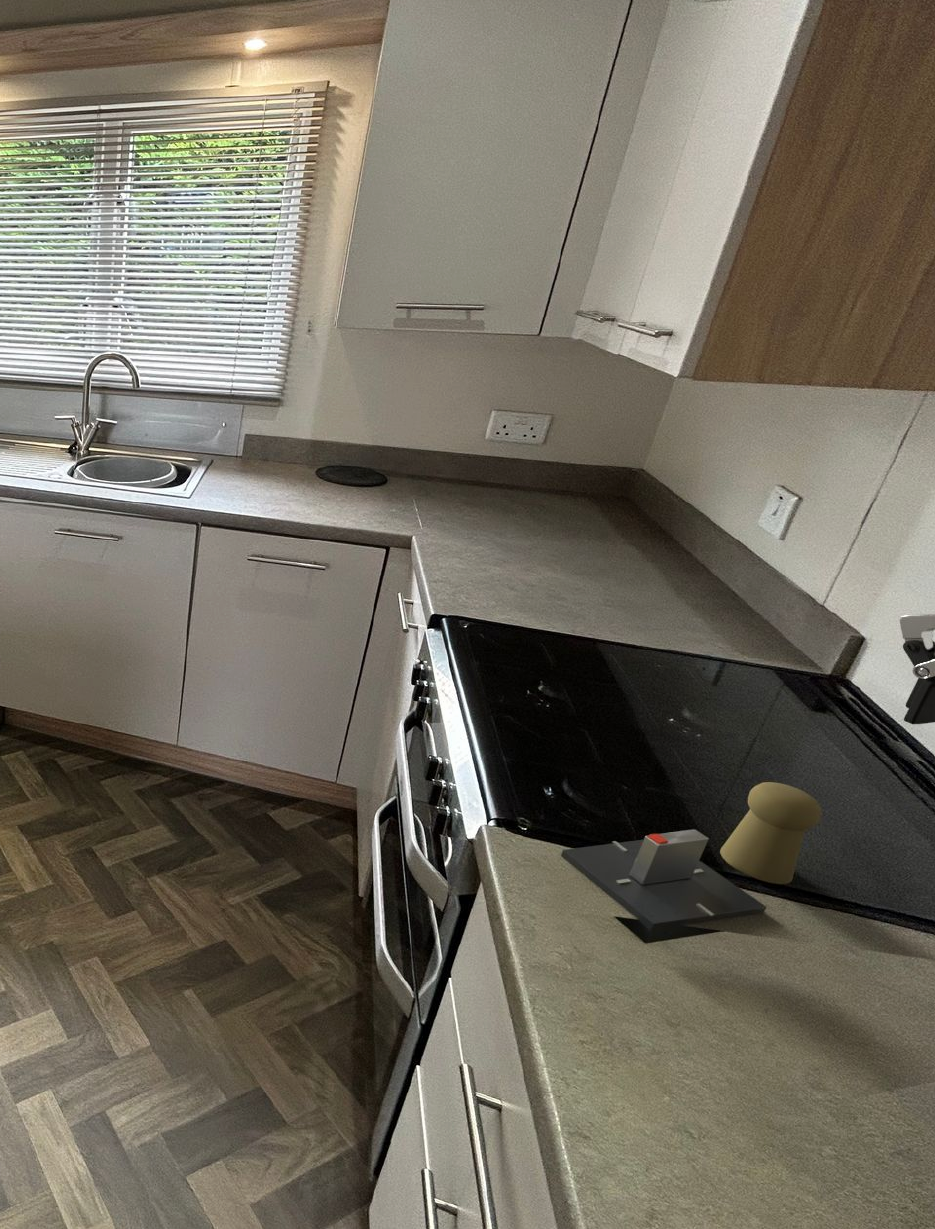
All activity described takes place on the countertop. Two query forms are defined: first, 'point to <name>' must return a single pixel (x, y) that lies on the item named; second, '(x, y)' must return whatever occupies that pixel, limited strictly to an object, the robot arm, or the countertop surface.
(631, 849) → the plate
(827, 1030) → the countertop surface
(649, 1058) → the countertop surface
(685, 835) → the tap handle
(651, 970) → the countertop surface
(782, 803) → the cork
